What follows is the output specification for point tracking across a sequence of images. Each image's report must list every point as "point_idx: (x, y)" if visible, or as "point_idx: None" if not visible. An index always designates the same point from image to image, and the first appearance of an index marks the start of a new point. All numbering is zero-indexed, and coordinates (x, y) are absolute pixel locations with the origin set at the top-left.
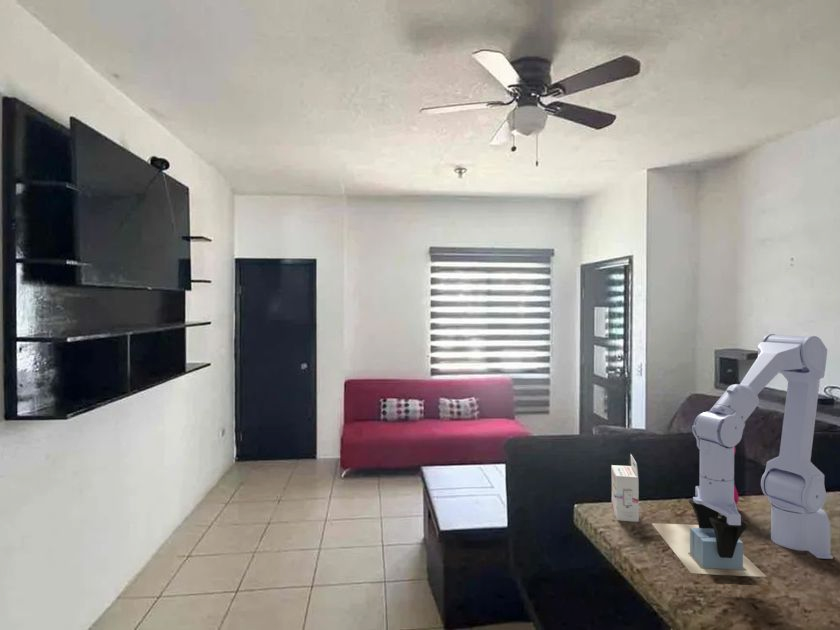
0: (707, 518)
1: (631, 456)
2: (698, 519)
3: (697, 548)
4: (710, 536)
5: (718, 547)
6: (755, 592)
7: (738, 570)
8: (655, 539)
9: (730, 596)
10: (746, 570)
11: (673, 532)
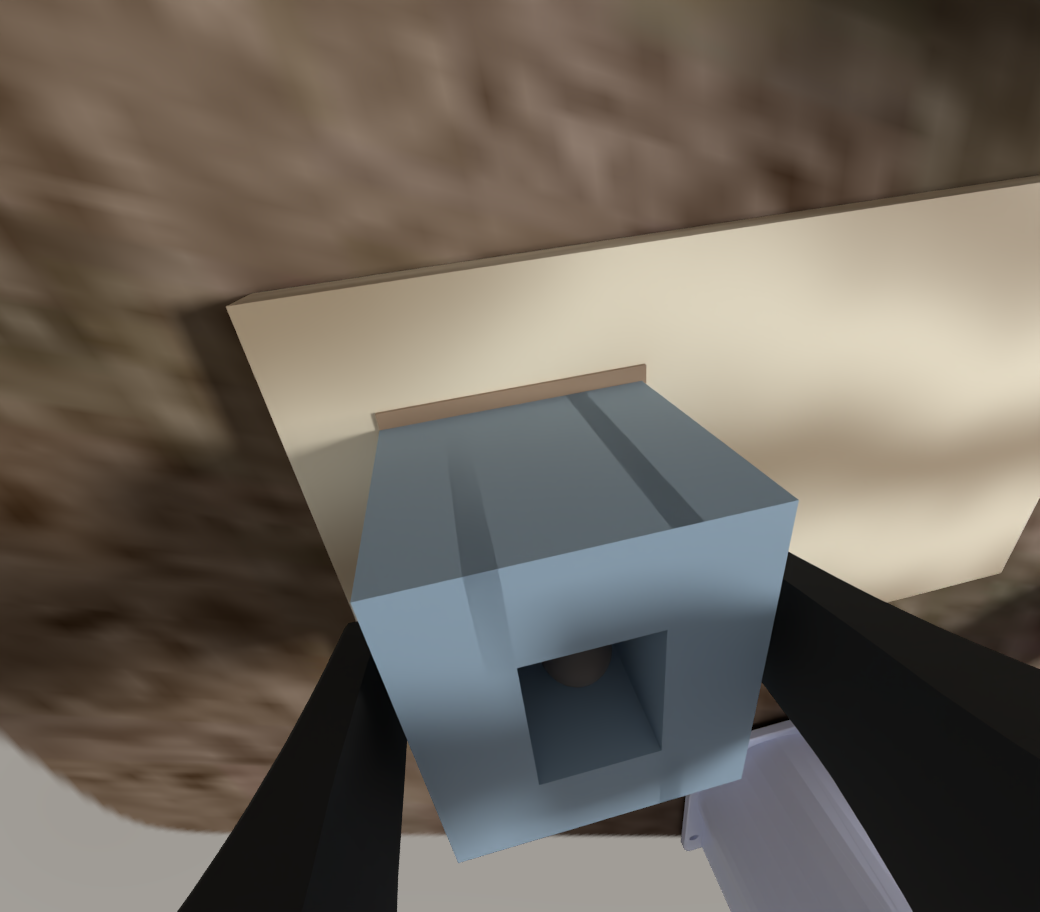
0: (888, 758)
1: None
2: (911, 659)
3: (508, 463)
4: (645, 637)
5: (318, 700)
6: (287, 639)
7: None
8: (975, 154)
9: (142, 522)
10: None
11: (995, 322)
